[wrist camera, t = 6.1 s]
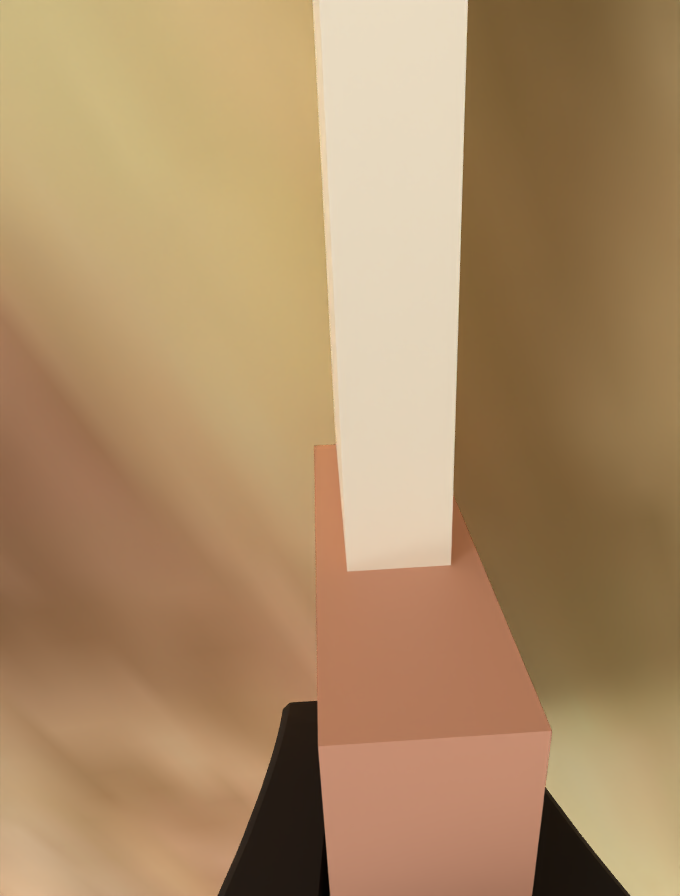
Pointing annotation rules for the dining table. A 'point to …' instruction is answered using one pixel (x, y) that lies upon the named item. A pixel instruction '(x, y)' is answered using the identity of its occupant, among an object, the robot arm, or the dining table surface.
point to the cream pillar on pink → (407, 492)
